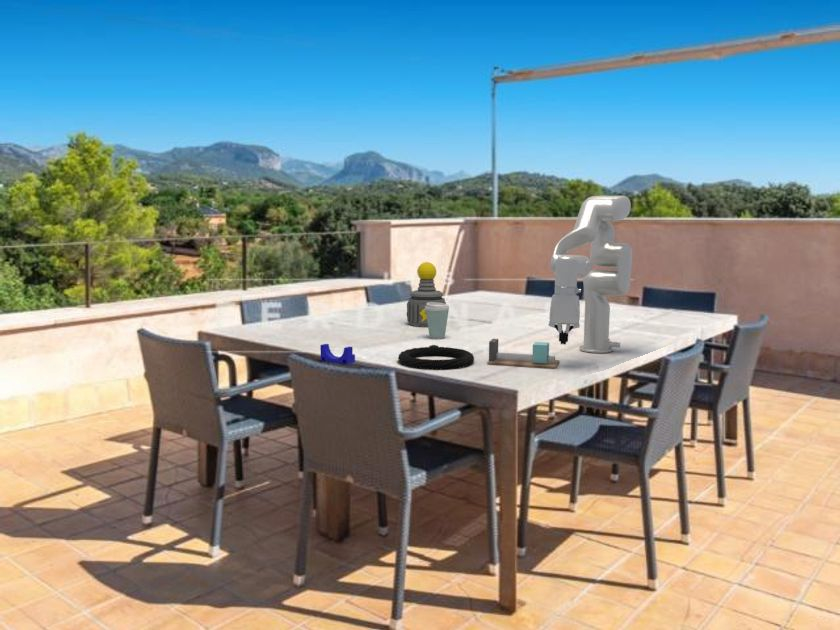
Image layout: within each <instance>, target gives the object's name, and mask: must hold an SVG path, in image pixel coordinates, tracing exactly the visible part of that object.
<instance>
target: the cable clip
mask: <svg viewBox="0 0 840 630" xmlns="http://www.w3.org/2000/svg"><path fill="white" fill-rule="evenodd" d="M320 361H321V362H329V363H335V364H343V365H350V364H353V363H355V362H356V354H354V353H353V346H345V347H344V348H343V352H342V354H341V356H339V357H338V356H336V355H334V354H333V352H332V351H331V349H330V344H329V343H323V344H320Z"/></svg>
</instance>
